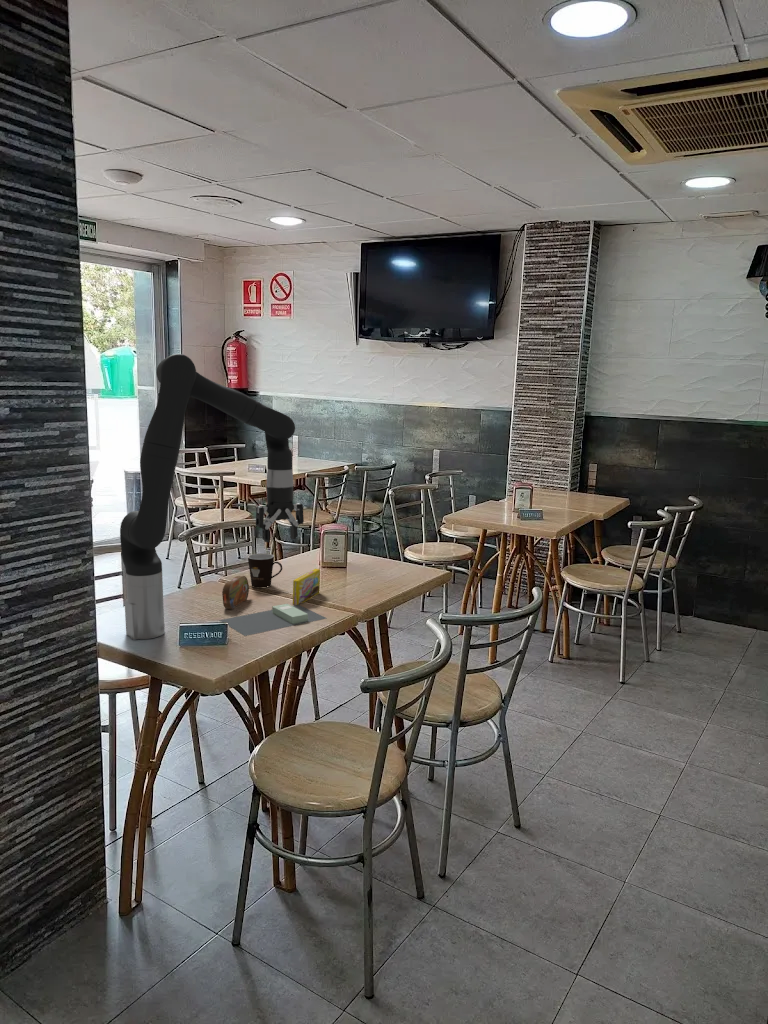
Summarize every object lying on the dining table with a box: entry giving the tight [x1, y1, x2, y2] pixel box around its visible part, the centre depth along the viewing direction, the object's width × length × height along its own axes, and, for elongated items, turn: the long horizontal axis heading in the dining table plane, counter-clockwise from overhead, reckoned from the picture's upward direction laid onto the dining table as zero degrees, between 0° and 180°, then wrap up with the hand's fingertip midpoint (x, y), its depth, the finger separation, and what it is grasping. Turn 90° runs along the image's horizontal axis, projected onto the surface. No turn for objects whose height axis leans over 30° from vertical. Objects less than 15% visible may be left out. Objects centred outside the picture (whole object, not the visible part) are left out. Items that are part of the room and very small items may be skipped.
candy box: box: [292, 568, 321, 606], centre depth 229 cm, size 16×2×8 cm, turn 161°
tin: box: [221, 575, 250, 610], centre depth 222 cm, size 15×3×8 cm, turn 168°
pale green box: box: [271, 603, 308, 624], centre depth 210 cm, size 5×2×12 cm
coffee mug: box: [247, 553, 283, 588], centre depth 243 cm, size 12×9×10 cm
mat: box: [218, 604, 328, 637], centre depth 208 cm, size 26×16×1 cm, turn 127°
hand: (280, 540), depth 211 cm, fingers open, 8 cm apart
